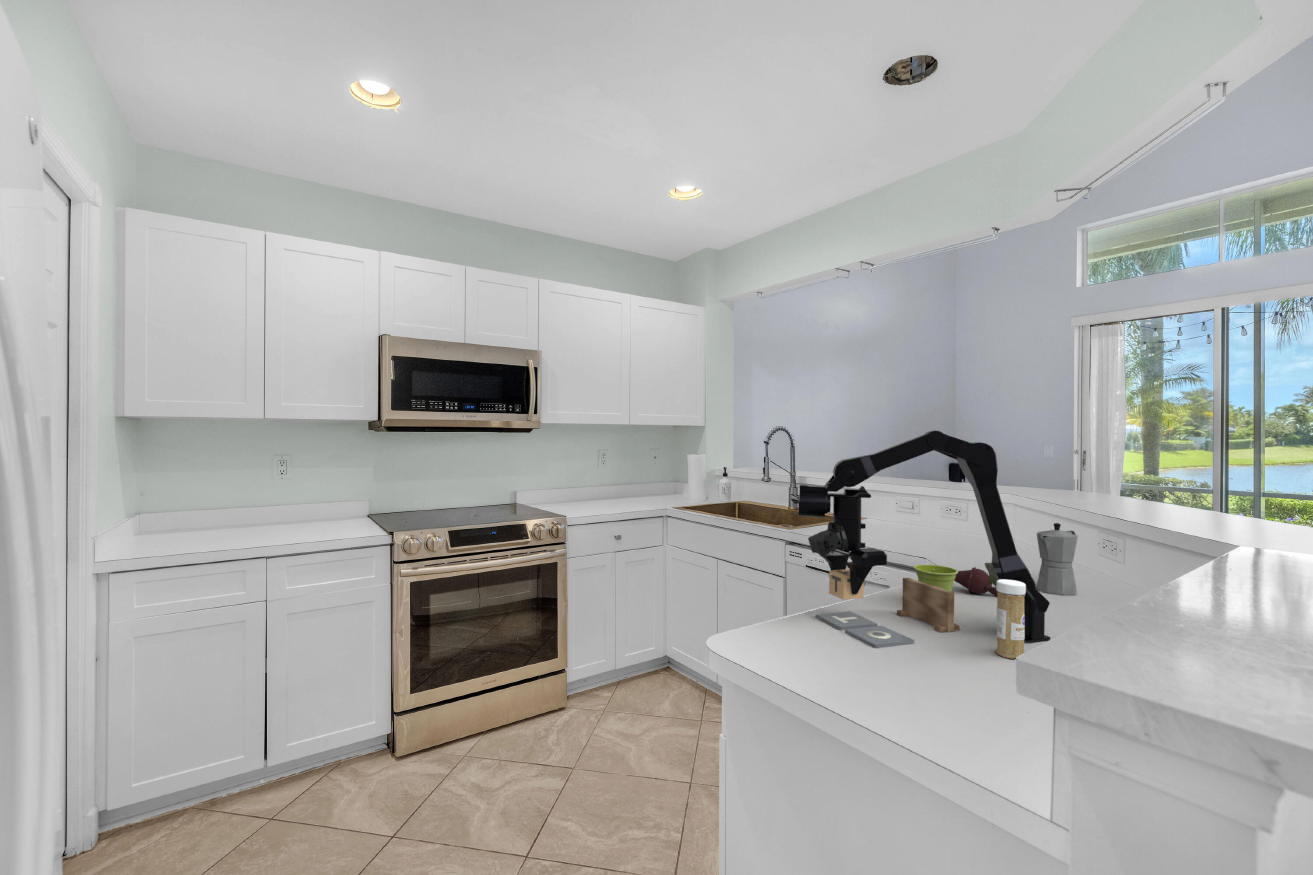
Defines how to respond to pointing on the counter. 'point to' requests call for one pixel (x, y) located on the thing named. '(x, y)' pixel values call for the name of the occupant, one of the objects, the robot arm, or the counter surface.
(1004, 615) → the sprinkles bottle
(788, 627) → the counter surface
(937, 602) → the screen
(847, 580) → the letter cube
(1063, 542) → the coffeepot
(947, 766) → the counter surface
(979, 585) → the dark red bulbous piece
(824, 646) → the counter surface
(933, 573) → the plant pot
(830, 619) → the tile
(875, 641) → the tile
